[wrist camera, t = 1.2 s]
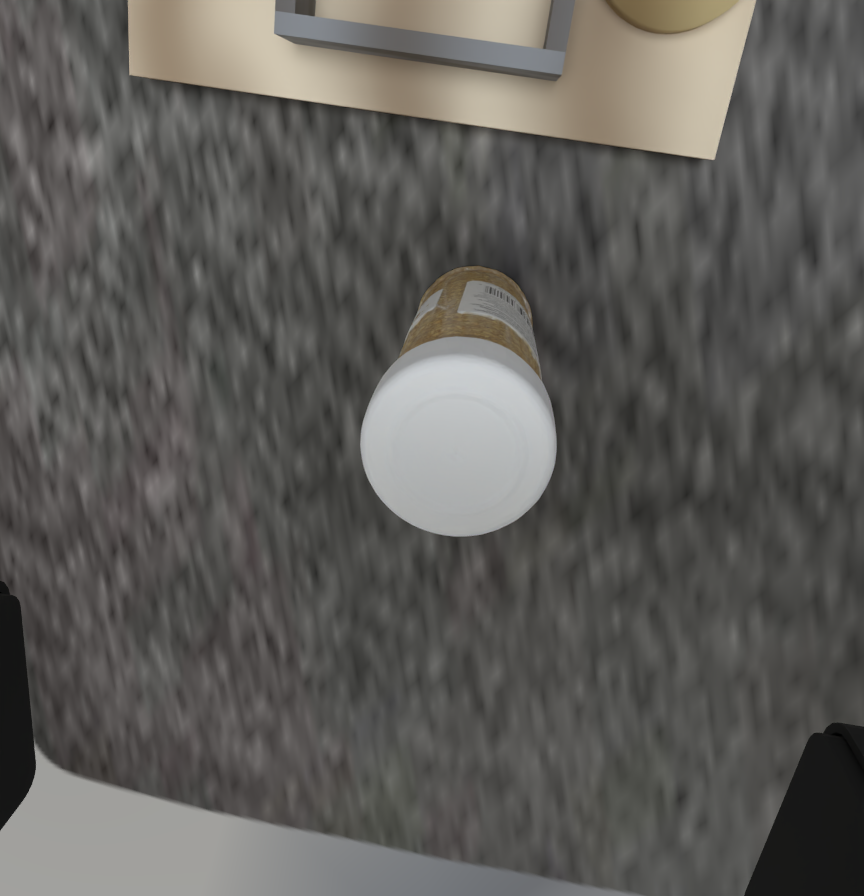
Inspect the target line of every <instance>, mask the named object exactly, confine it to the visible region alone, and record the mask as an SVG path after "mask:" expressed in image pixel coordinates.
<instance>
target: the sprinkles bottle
mask: <svg viewBox="0 0 864 896" xmlns="http://www.w3.org/2000/svg"><path fill="white" fill-rule="evenodd" d="M532 325H533V322H532V314H531V309H530V305H529V303H528V301H527V300H526V297H525V295H524V293H523V292H522V291H521V289H520V288H519V286H518V285H517V284H516V283H515V282H514V281H513V280H512V279H511V278H509V277H507V276H506V275H505V274H503V273H501V272H499V271H497V270H495V269H490V268H485V267H482V266H467V267H460V268H456V269H453V270H451V271H449V272H448V273H446V274H444V275H443V276H441V277H439V278H438V279H437V280H436V281H435V283H433V284H432V285H431V286H430V288H429V289H428V290H427V291H426V292H425V294H424V295H423V297H422V299H421V302H420V305H419V308H418V312H417V314H416V316H415V318H414V321H413V323H412V325H411V327H410V329H409V331H408V334H407V336H406V339H405V342H404V345H403V348H402V350H401V352H400V355H399V358H398V359H397V360H396V361H395V362H394V363H393V364H392V365H391V366H390V368H389V369H388V370H387V371H386V373H385V374H384V375H383V377H382V378H381V380H380V382H379V383H378V385H377V387H376V389H375V391H374V393H373V396H372V398H371V400H370V403H369V405H368V408H367V411H366V414H365V417H364V420H363V424H362V429H361V441H360V449H361V456H362V462H363V466H364V469H365V473H366V475H367V478H368V480H369V482H370V484H371V485H372V487H373V489H374V490H375V492H376V494H377V495H378V496H379V498H380V499H381V500H382V501H383V503H384V504H385V505H386V506H387V507H388V508H389V509H390V510H391V511H393V512H394V513H395V514H396V515H397V516H399V517H400V518H402V519H403V520H405V521H406V522H408V523H410V524H412V525H414V526H416V527H418V528H420V529H423V530H426V531H429V532H432V533H435V534H440V535H446V536H475V535H482V534H485V533H488V532H492V531H495V530H498V529H500V528H502V527H504V526H507V525H508V524H510V523H512V522H514V521H515V520H517V519H518V518H520V517H521V516H522V515H524V514H525V513H526V512H527V511H528V510H529V509H530V508H531V507H532V506H533V505H534V504H535V503H536V502H537V501H538V499H539V498H540V497H541V495H542V493H543V492H544V490H545V489H546V487H547V485H548V483H549V480H550V478H551V475H552V472H553V469H554V465H555V460H556V451H557V439H556V428H555V420H554V415H553V410H552V405H551V401H550V398H549V396H548V393H547V391H546V388H545V386H544V384H543V383H542V375H541V369H540V363H539V358H538V352H537V347H536V343H535V338H534V333H533V329H532Z"/></svg>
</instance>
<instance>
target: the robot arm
mask: <svg viewBox="0 0 864 896" xmlns="http://www.w3.org/2000/svg"><path fill="white" fill-rule="evenodd" d="M35 770H36V760H35V750H34V740H33V729H32V719H31V709H30V698H29V688H28V678H27V668H26V657H25V647H24V637H23V626H22V616H21V607H20V602H19V600H18V599H17V597H15V596H13V595H10V593H9V589H8V587H7V586H6V584H5V583H4V582H2V581H0V830H1V829H2V828H3V826H4V825H5V823H6V822H7V821H8V820H9V818H10V817H11V816H12V814H13V813H14V811H15V810H16V809H17V808H18V806H19V805H20V804H21V802H22V801H23V799H24V798H25V796H26V795H27V793H28V791H29V789H30V787H31V785H32V782H33V779H34V775H35ZM744 896H864V727H861V726H855V725H849V724H843V723H832V724H831V725H829V726H828V727H827V728H826V730H825V731H824V733H814V734H813V735H812V736H811V737H810V738H809V740H808V742H807V744H806V747H805V749H804V751H803V754H802V756H801V759H800V761H799V764H798V766H797V768H796V771H795V773H794V776H793V778H792V780H791V783H790V785H789V788H788V790H787V793H786V795H785V797H784V800H783V802H782V805H781V807H780V810H779V812H778V814H777V817H776V819H775V822H774V824H773V826H772V829H771V831H770V834H769V836H768V839H767V841H766V843H765V846H764V848H763V851H762V853H761V855H760V858H759V860H758V863H757V865H756V868H755V870H754V872H753V875H752V877H751V880H750V882H749V884H748V887H747V889H746V892H745V895H744Z"/></svg>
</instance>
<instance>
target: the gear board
mask: <svg viewBox="0 0 864 896" xmlns="http://www.w3.org/2000/svg"><path fill="white" fill-rule="evenodd" d="M755 3H756V0H128V22H129V74H130V75H133V76H138V77H144V78H149V79H156V80H163V81H170V82H177V83H183V84H190V85H197V86H204V87H211V88H218V89H225V90H231V91H238V92H245V93H252V94H259V95H266V96H273V97H279V98H286V99H293V100H300V101H307V102H314V103H321V104H328V105H334V106H341V107H348V108H355V109H362V110H369V111H376V112H382V113H389V114H396V115H403V116H410V117H417V118H424V119H430V120H437V121H444V122H451V123H458V124H465V125H472V126H479V127H485V128H492V129H499V130H506V131H513V132H520V133H527V134H533V135H540V136H547V137H554V138H561V139H568V140H575V141H581V142H588V143H595V144H602V145H609V146H616V147H623V148H630V149H636V150H643V151H650V152H657V153H664V154H671V155H678V156H684V157H691V158H698V159H707V160H714V159H715V155H716V151H717V148H718V144H719V140H720V136H721V132H722V129H723V125H724V121H725V117H726V113H727V109H728V106H729V102H730V98H731V94H732V90H733V87H734V83H735V79H736V75H737V71H738V68H739V64H740V60H741V56H742V52H743V48H744V45H745V41H746V37H747V33H748V29H749V26H750V22H751V18H752V14H753V10H754V6H755Z"/></svg>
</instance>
